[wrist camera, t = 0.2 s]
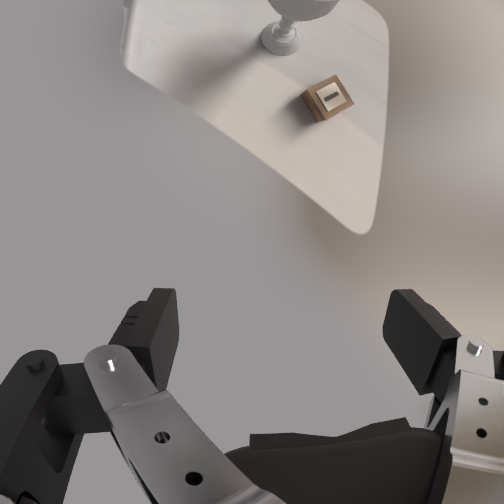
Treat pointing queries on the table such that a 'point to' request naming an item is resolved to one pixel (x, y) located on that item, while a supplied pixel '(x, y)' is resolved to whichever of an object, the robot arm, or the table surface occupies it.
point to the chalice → (292, 23)
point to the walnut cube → (327, 98)
